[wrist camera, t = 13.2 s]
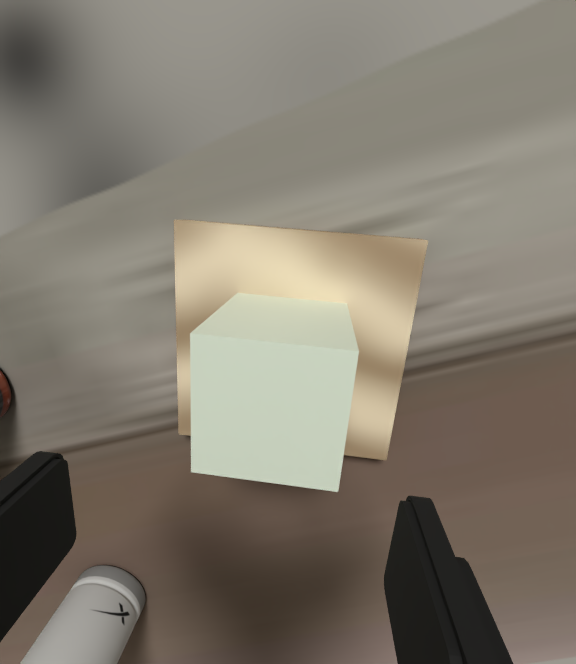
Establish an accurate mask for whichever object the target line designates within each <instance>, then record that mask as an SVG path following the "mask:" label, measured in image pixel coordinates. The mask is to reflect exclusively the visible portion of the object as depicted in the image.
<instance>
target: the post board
mask: <svg viewBox="0 0 576 664" xmlns="http://www.w3.org/2000/svg"><path fill="white" fill-rule="evenodd" d="M427 244H428V241H427V240H423V239H413V238H401V237H388V236H376V235H364V234H352V233H340V232H328V231H315V230H303V229H291V228H279V227H267V226H254V225H242V224H230V223H218V222H206V221H193V220H174V246H175V291H176V336H177V382H178V427H179V434H181V435H189V436H191V386H190V333H191V332H192V331H193V330H195V329H196V328H197V327H198V326H199V325H200V324H202V323H203V322H204V321H205V320H206V319H207V318H209V317H210V316H211V315H212V314H213V313H214V312H216V311H217V310H218V309H219V308H220V307H221V306H223V305H224V304H225V303H226V302H227V301H229V300H230V299H231V298H232V297H233V296H234V295H236V294H237V293H245V294H256V295H266V296H276V297H286V298H296V299H307V300H317V301H327V302H337V303H347V305H348V309H349V313H350V317H351V321H352V325H353V329H354V333H355V337H356V341H357V345H358V349H359V355H358V362H357V368H356V375H355V382H354V388H353V395H352V402H351V409H350V415H349V422H348V429H347V436H346V442H345V449H344V455H348V456H356V457H364V458H372V459H380V460H386V459H387V454H388V449H389V443H390V438H391V433H392V428H393V422H394V417H395V412H396V407H397V401H398V396H399V391H400V386H401V380H402V375H403V370H404V365H405V359H406V354H407V349H408V344H409V338H410V333H411V328H412V323H413V318H414V312H415V307H416V302H417V297H418V291H419V286H420V281H421V276H422V270H423V265H424V260H425V255H426V249H427Z"/></svg>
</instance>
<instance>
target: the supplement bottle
mask: <svg viewBox="0 0 576 664" xmlns="http://www.w3.org/2000/svg"><path fill="white" fill-rule="evenodd" d="M10 401H11V391H10V387H9V384H8V382H7V380H6V378H5V376H4V374H3V373H2V372H1V370H0V418H1V417H2V416H3V415H4V414H5V413H6V412H7V410H8V408H9V406H10Z"/></svg>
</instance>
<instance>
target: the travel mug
mask: <svg viewBox="0 0 576 664" xmlns="http://www.w3.org/2000/svg"><path fill="white" fill-rule="evenodd" d="M144 605H145V593H144V590H143V588H142V586H141V584H140V583H139V582H138V580H137V579H136V578H135V577H134V576H132V575H131V574H130V573H128V572H126V571H125V570H123V569H120V568H117V567H114V566H107V565H100V566H94V567H91V568H89V569H87V570H85V571H84V572H83V573H82V574H81V575H80V577H79V578H78V580H77V581H76V583H75V584H74V585H73V587H72V589H71V590H70V592H69V593H68V594H67V596H66V597H65V599H64V600H63V601H62V603H61V604H60V606H59V607H58V609H57V610H56V612H55V613H54V615H53V616H52V618H51V619H50V620H49V622H48V623H47V625H46V626H45V628H44V629H43V631H42V632H41V634H40V635H39V636H38V638H37V639H36V641H35V642H34V644H33V645H32V647H31V648H30V650H29V651H28V653H27V654H26V655H25V657H24V658H23V660H22V661H21V663H20V664H117V663H118V661H119V659H120V657H121V654H122V652H123V650H124V648H125V646H126V644H127V642H128V640H129V637H130V635H131V633H132V631H133V629H134V626H135V624H136V622H137V620H138V618H139V616H140V614H141V612H142V610H143V607H144Z"/></svg>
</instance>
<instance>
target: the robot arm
mask: <svg viewBox="0 0 576 664" xmlns="http://www.w3.org/2000/svg"><path fill="white" fill-rule="evenodd" d="M75 539H76V526H75V518H74V510H73V502H72V494H71V486H70V478H69V470H68V463H67V461H66V460H64V459H63V456H62V455H61V454H58V453H50V452H42V451H40V452H36V453H35V454H33V455H32V456H31V457H29V458H28V459H27V460H26V461H24V462H23V463H22V464H21V465H20V466H18V467H17V468H16V469H15V470H13V471H12V472H11V473H10V474H8V475H7V476H6V477H5V478H4V479H2V480H1V481H0V642H1V640H2V639H3V638H4V636H5V635H6V634H7V632H8V631H9V630H10V629H11V627H12V626H13V625H14V623H15V622H16V621H17V619H18V618H19V617H20V615H21V614H22V613H23V611H24V610H25V609H26V607H27V606H28V605H29V604H30V602H31V601H32V600H33V598H34V597H35V596H36V594H37V593H38V592H39V590H40V589H41V588H42V586H43V585H44V584H45V582H46V581H47V580H48V578H49V577H50V576H51V575H52V573H53V572H54V571H55V569H56V568H57V567H58V565H59V564H60V563H61V561H62V560H63V559H64V557H65V556H66V555H67V553H68V552H69V551H70V549H71V548H72V546H73V544H74V542H75ZM384 589H385V595H386V601H387V606H388V612H389V617H390V623H391V628H392V634H393V640H394V645H395V651H396V656H397V662H398V664H513V662H512V660H511V657H510V655H509V653H508V651H507V648H506V646H505V644H504V642H503V639H502V637H501V635H500V632H499V630H498V628H497V626H496V623H495V621H494V619H493V617H492V614H491V612H490V610H489V608H488V605H487V603H486V601H485V598H484V596H483V594H482V592H481V589H480V587H479V585H478V583H477V580H476V578H475V576H474V574H473V571H472V569H471V567H470V565H469V563H468V562H467V561H466V560H465V559H464V558H460V557H455V555H454V553H453V550H452V548H451V545H450V543H449V540H448V538H447V536H446V533H445V531H444V528H443V526H442V523H441V521H440V518H439V516H438V514H437V511H436V509H435V506H434V504H433V502H432V500H431V499H430V498H424V497H416V496H408V497H407V499H406V501H400V503H399V507H398V512H397V517H396V521H395V526H394V531H393V536H392V541H391V546H390V550H389V555H388V560H387V565H386V570H385V575H384Z"/></svg>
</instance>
